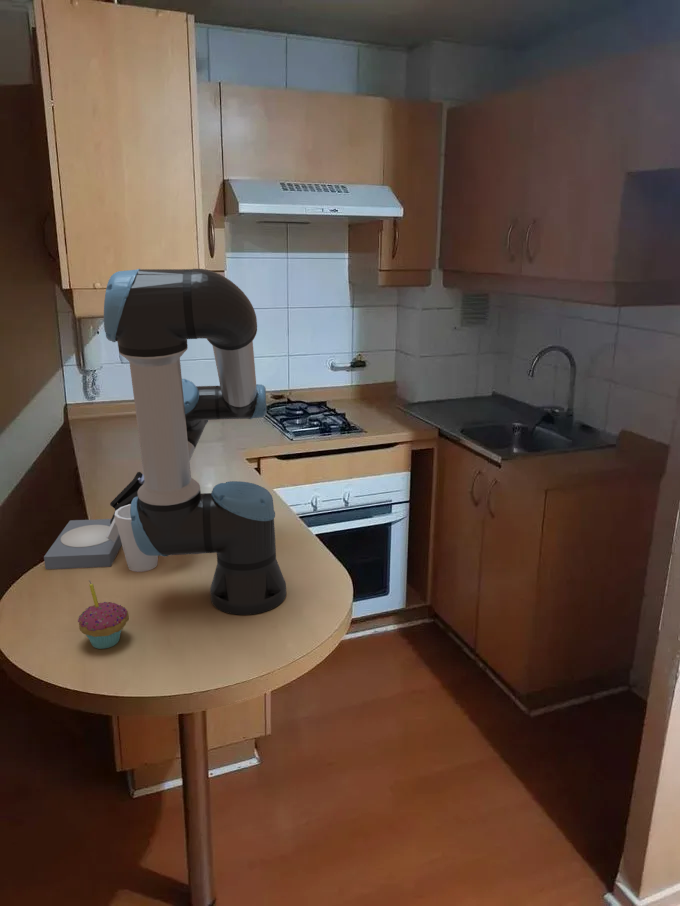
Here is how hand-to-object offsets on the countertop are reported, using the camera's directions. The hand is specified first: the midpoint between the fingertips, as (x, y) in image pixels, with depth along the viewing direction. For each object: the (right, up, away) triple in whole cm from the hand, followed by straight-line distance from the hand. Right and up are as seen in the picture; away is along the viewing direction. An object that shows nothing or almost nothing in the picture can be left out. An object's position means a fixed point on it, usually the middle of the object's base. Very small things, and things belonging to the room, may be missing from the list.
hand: (134, 545), depth 153 cm
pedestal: (-14, -2, +12) cm, 18 cm away
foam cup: (+1, -5, +3) cm, 6 cm away
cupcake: (+2, -14, -25) cm, 29 cm away
